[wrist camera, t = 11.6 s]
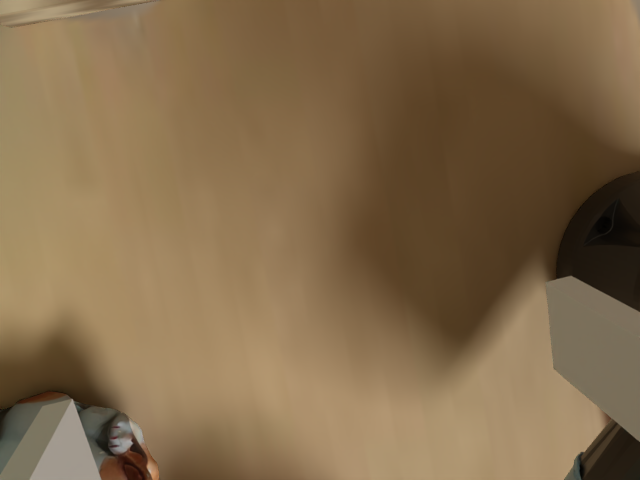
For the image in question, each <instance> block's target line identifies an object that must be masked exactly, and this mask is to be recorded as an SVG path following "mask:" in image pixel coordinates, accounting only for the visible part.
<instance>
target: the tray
mask: <svg viewBox="0 0 640 480" xmlns="http://www.w3.org/2000/svg"><path fill="white" fill-rule="evenodd" d="M152 1H158V0H0V24H1V25H4V26H7V27H11V28H12V27H18V26H23V25H29V24H34V23H39V22H45V21H50V20H55V19H61V18H66V17H72V16H77V15H82V14H88V13H93V12H98V11H103V10H109V9H114V8H120V7H125V6H131V5H136V4H142V3H147V2H152Z"/></svg>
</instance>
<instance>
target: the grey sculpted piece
mask: <svg viewBox="0 0 640 480" xmlns="http://www.w3.org/2000/svg"><path fill="white" fill-rule="evenodd" d="M70 399H71V398H70V397H69V396H68V395H67V394H65V393H61V392H52V391H48V392H45V393H42V394H39V395H36V396H33V397H30V398H27V399H23V400H20V401H18V402H17V403H16V404H15V405H14V406H13V407H10V408H7V409H3V410H1V409H0V474H1V473H2V471H3V469H4V468H5V466H6V464H7V463H8V461H9V460H10V458H11V456H12V455H13V453H14V452H15V450H16V448H17V447H18V445H19V443H20V442H21V440H22V439H23V437H24V435H25V434H26V432H27V430H28V429H29V427H30V426H31V424H32V422H33V421H34V419H35V418H36V416H37V414H38V413H39V411H40V409H41V408H42V406H45V405H49V404H53V403H57V402H61V401H65V400H70ZM74 404H75V407H76V410H77V413H78V415H79V418H80V421H81V424H82V427H83V430H84V432H85V435H86V438H87V441H88V444H89V446H90V449H91V452H92V455H93V458H94V460H95V463H96V466H97V469H98V472H99V474H100V477H101V480H160V479H159V470H158V465H157V463H156V461H155V460H154V459H153V458H152V456H151V455H150V453H149V451H148V449H147V447H146V444H145V442H144V439H143V435H142V430H141V428H140V426H139V425H138V424H137V423H136V422H134V421H133V420H131V419H130V418H129V417H128V416H127V415H126V414H125V413H121V412H119V411H118V410H115V409H111V408H103V407H96V406H95V405H86V404H82V403H79V402H75V401H74Z"/></svg>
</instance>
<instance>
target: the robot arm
mask: <svg viewBox="0 0 640 480" xmlns="http://www.w3.org/2000/svg"><path fill="white" fill-rule="evenodd" d="M546 291H547V302H548V313H549V324H550V334H551V345H552V356H553V367H554V370H556V371H557V372H558V373H559V374H560V375H561V376H563V377H564V378H565V379H566V380H567V381H569V382H570V383H571V384H572V385H573V386H574V387H576V388H577V389H578V390H579V391H580V392H582V393H583V394H584V395H585V396H586V397H587V398H589V399H590V400H591V401H592V402H593V403H594V404H596V405H597V406H598V407H599V408H600V409H602V410H603V411H604V412H605V413H606V414H607V415H609V416H610V417H611V418H612V419H611V420H610V421H609V423H608V424H607V425H606V426H605V428H604V429H603V430H602V431H601V433H600V434H599V435H598V436H597V438H596V439H595V440H594V441H593V442H592V444H591V445H590V446H589V447H588V449H587V450H586V451H585V452H581V453H580V454H578V455H577V457H576V458H575V460H574V466H573V467H572V469H571V470H570V472H569V473H568V475H567V476H566V477H565V479H564V480H640V172H635V173H631V174H628V175H625V176H622V177H620V178H618V179H616V180H614V181H612V182H610V183H608V184H607V185H605V186H604V187H602V188H601V189H599V190H598V191H597V192H596V193H594V194H593V195H592V196H591V197H590V198H589V199H588V200H587V201H586V202H585V203H584V204H583V205H582V207H581V208H580V209H579V210H578V212H577V213H576V214H575V216H574V217H573V219H572V220H571V222H570V224H569V226H568V228H567V230H566V232H565V234H564V237H563V239H562V242H561V245H560V249H559V254H558V260H557V279H556V280H552V281H548V282H546ZM0 480H101V477H100V474H99V472H98V469H97V466H96V463H95V460H94V458H93V455H92V452H91V449H90V446H89V444H88V441H87V438H86V435H85V432H84V430H83V427H82V424H81V421H80V418H79V415H78V413H77V410H76V407H75V404H74V401H73V399H70V400H65V401H61V402H57V403H53V404H49V405H45V406H42V408H41V409H40V411H39V413H38V414H37V416H36V418H35V419H34V421H33V422H32V424H31V426H30V427H29V429H28V430H27V432H26V434H25V435H24V437H23V439H22V440H21V442H20V443H19V445H18V447H17V448H16V450H15V452H14V453H13V455H12V456H11V458H10V460H9V461H8V463H7V464H6V466H5V468H4V469H3V471H2V473H1V474H0Z"/></svg>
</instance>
